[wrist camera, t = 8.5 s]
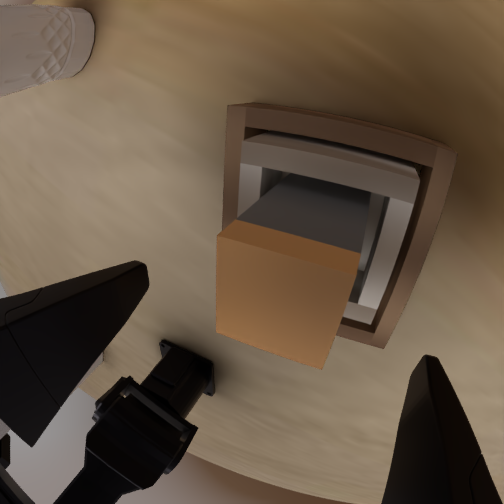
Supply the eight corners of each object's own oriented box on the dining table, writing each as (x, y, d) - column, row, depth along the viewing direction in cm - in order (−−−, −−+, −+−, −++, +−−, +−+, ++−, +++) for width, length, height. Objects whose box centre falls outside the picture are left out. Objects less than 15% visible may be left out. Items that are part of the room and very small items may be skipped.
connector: (354, 257, 16) (322, 369, 10) (285, 237, 17) (216, 332, 11) (371, 188, 14) (356, 275, 8) (294, 169, 15) (217, 235, 9)
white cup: (96, -13, 15) (-9, -14, 7) (106, 61, 18) (-9, 79, 10) (49, 29, 18) (-38, 42, 10) (57, 95, 22) (-34, 121, 14)
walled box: (387, 318, 19) (380, 373, 15) (240, 273, 22) (205, 315, 19) (445, 143, 13) (469, 163, 9) (251, 102, 16) (206, 107, 12)
